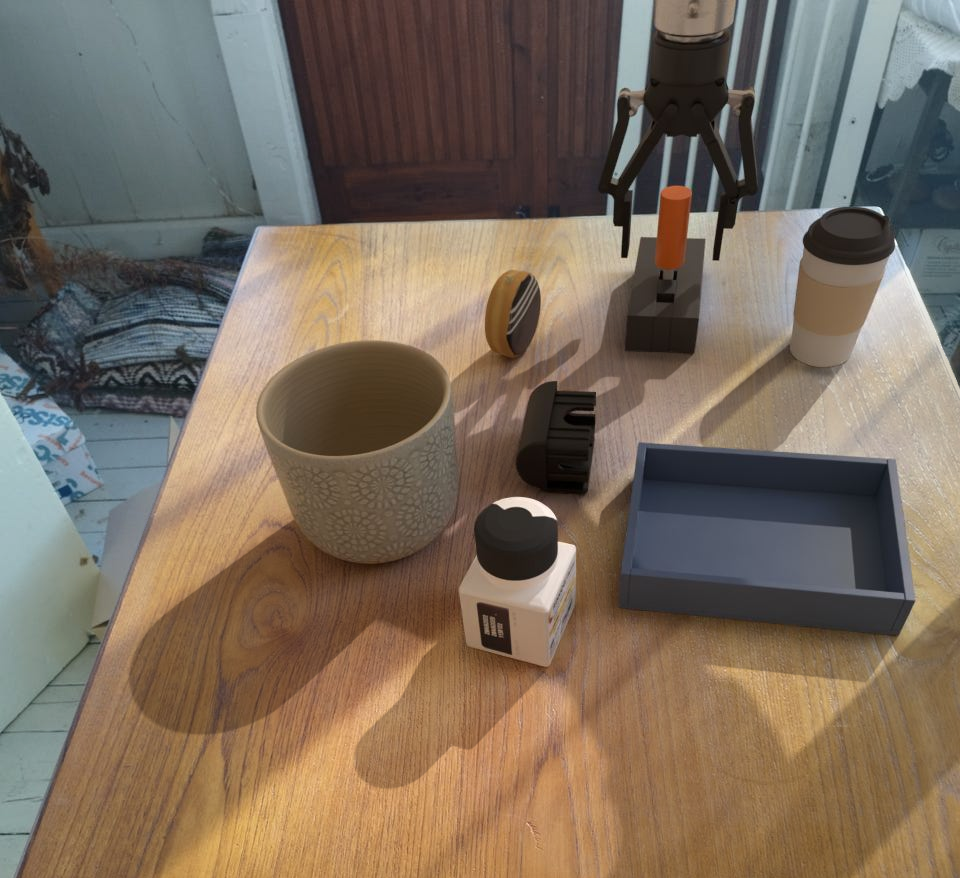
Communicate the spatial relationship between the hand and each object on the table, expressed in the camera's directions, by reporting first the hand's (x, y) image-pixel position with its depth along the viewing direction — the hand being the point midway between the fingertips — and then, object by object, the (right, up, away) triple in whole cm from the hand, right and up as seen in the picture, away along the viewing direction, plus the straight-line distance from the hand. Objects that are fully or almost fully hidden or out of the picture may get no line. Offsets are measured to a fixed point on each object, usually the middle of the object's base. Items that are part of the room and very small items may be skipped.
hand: (670, 253), depth 101 cm
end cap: (-14, -27, -11) cm, 32 cm away
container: (-18, -44, -24) cm, 53 cm away
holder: (+1, -4, +6) cm, 7 cm away
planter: (-32, -34, -14) cm, 49 cm away
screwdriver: (+1, -4, +6) cm, 7 cm away
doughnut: (-18, -10, +3) cm, 21 cm away
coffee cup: (+17, -12, -2) cm, 21 cm away
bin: (+3, -37, -20) cm, 42 cm away
